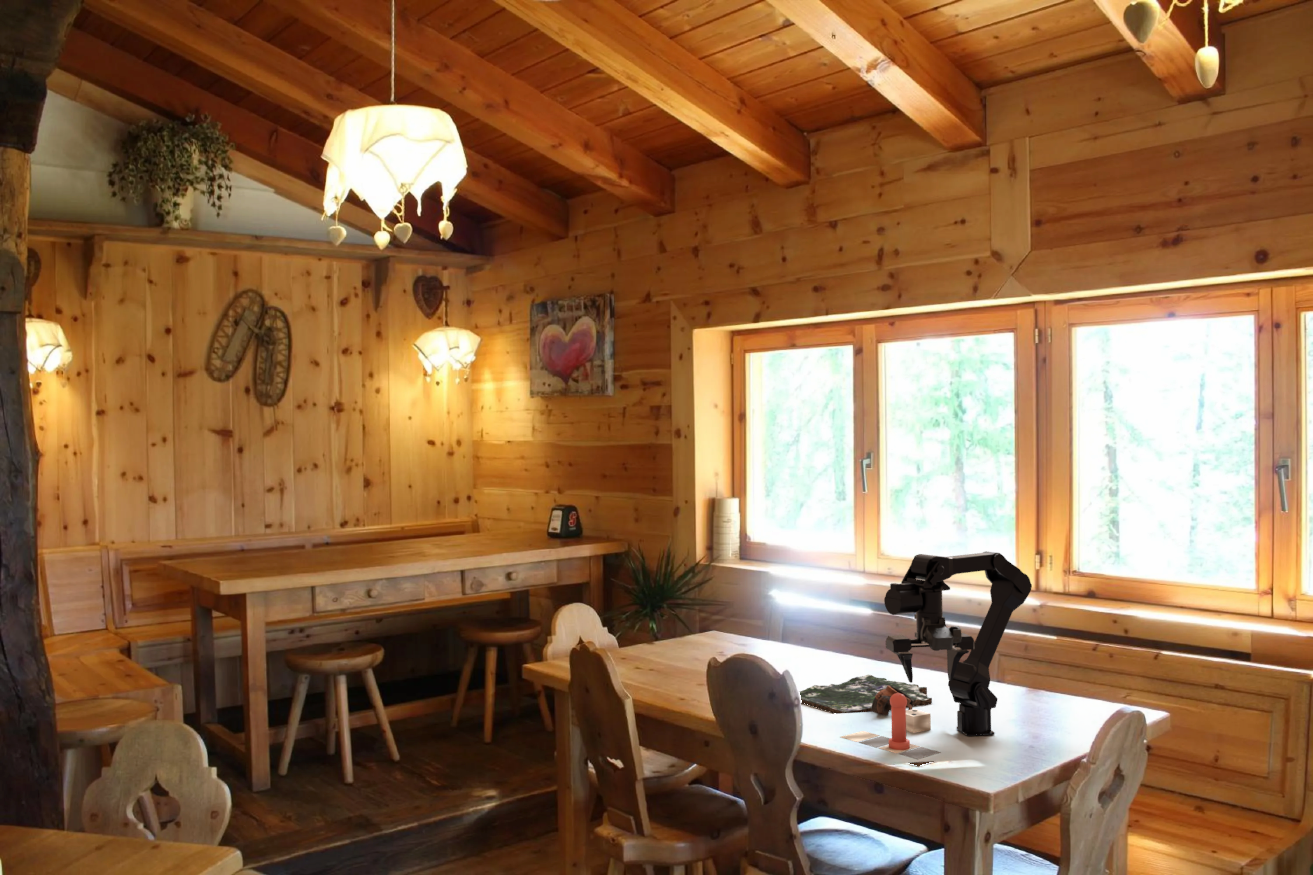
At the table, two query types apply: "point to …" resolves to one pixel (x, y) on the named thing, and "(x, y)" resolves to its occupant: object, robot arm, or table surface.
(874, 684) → the topographical map
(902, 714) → the pawn
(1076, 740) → the table surface
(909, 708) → the pottery mug
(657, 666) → the table surface
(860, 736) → the game board
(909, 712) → the die
